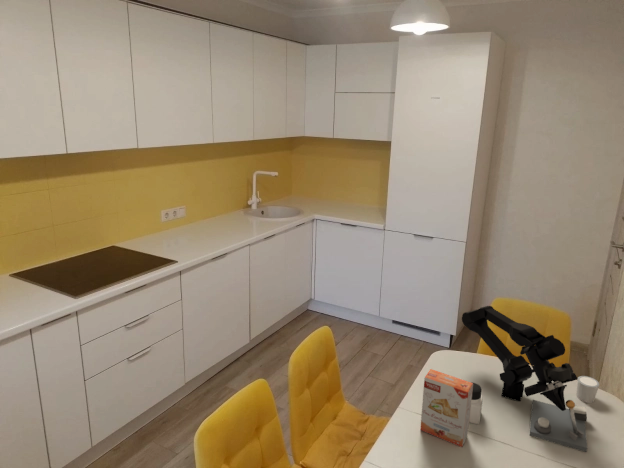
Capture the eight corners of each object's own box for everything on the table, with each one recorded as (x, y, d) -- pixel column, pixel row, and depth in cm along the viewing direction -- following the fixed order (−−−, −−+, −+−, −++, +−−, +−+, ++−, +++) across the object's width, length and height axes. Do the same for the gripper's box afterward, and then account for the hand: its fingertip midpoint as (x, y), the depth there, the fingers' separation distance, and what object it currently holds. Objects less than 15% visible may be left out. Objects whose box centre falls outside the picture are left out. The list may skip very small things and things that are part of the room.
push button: (537, 425, 146) (538, 422, 146) (537, 419, 149) (538, 416, 149) (548, 429, 145) (549, 425, 144) (548, 422, 148) (549, 419, 147)
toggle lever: (569, 432, 145) (563, 400, 145) (574, 430, 146) (568, 398, 146) (576, 435, 142) (570, 402, 143) (582, 432, 143) (576, 400, 144)
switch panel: (529, 435, 147) (530, 427, 146) (532, 403, 162) (533, 395, 161) (587, 452, 140) (589, 444, 139) (584, 417, 155) (586, 409, 154)
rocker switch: (572, 412, 152) (572, 409, 152) (572, 408, 154) (572, 405, 154) (586, 414, 150) (586, 411, 150) (585, 410, 152) (585, 407, 152)
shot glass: (599, 404, 161) (602, 388, 159) (578, 402, 162) (581, 385, 160) (591, 392, 167) (595, 376, 165) (571, 390, 169) (574, 374, 167)
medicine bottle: (481, 412, 158) (484, 382, 154) (479, 425, 152) (482, 394, 148) (459, 406, 161) (462, 377, 157) (456, 419, 155) (460, 389, 151)
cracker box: (419, 431, 149) (423, 376, 143) (426, 420, 154) (430, 367, 148) (462, 448, 142) (468, 392, 135) (467, 437, 146) (474, 381, 140)
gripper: (536, 363, 143) (561, 414, 137) (577, 350, 150) (603, 398, 144) (513, 372, 152) (536, 420, 146) (553, 359, 159) (576, 404, 153)
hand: (564, 410), depth 147 cm, fingers closed
